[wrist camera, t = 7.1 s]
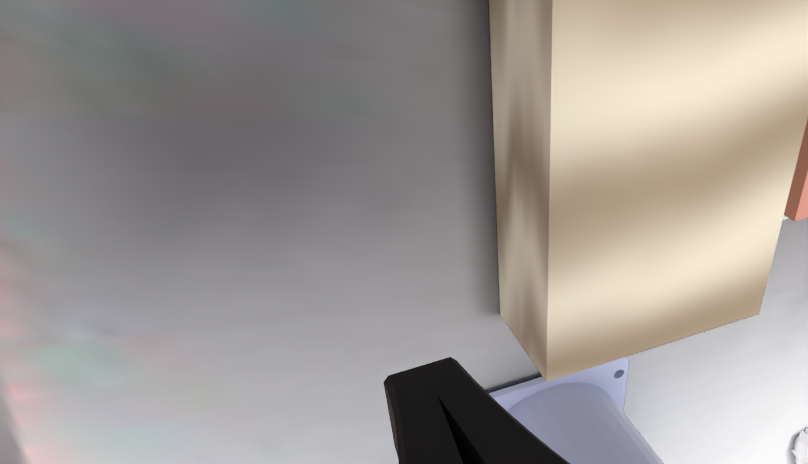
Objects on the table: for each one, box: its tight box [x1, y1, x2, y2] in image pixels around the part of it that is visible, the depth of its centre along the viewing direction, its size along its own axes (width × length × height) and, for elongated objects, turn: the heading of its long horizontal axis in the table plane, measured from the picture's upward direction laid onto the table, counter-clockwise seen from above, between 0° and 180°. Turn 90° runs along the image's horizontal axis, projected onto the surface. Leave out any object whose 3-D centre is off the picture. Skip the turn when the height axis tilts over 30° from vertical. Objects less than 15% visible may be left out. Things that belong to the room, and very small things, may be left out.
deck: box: [489, 0, 808, 382], centre depth 22 cm, size 14×9×4 cm, turn 7°
